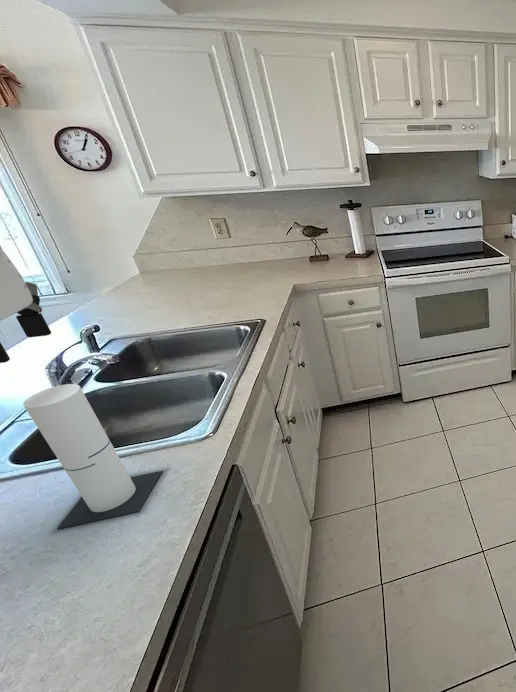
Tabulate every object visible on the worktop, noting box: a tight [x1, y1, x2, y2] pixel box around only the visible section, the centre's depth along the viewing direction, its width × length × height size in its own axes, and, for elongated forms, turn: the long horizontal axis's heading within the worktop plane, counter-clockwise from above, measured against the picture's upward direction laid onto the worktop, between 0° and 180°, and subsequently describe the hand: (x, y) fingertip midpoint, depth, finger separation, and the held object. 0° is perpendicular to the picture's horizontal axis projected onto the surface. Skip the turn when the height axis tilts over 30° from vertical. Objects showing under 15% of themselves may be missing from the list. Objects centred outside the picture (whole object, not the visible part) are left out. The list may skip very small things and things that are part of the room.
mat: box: [56, 470, 164, 530], centre depth 83 cm, size 13×11×1 cm
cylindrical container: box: [22, 383, 136, 512], centre depth 78 cm, size 7×7×25 cm
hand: (19, 348), depth 68 cm, fingers open, 9 cm apart
